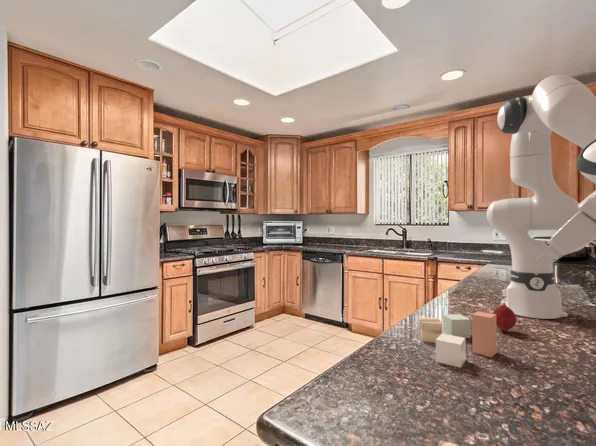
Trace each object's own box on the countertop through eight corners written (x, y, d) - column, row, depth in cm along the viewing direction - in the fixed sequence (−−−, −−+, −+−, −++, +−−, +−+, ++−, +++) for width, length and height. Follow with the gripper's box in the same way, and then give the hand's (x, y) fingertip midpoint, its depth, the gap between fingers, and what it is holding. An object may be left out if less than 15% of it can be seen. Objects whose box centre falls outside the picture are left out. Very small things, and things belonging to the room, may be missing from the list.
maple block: (419, 335, 88) (418, 317, 88) (438, 336, 87) (438, 318, 87) (421, 341, 83) (421, 322, 83) (442, 343, 82) (442, 323, 82)
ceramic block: (442, 354, 75) (441, 333, 75) (465, 360, 72) (465, 337, 72) (436, 362, 71) (435, 339, 71) (460, 368, 68) (460, 344, 68)
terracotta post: (478, 347, 79) (477, 311, 79) (496, 352, 76) (496, 314, 76) (472, 352, 76) (472, 314, 76) (491, 357, 73) (491, 317, 73)
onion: (520, 335, 87) (520, 305, 87) (497, 334, 88) (496, 305, 88) (510, 328, 93) (510, 300, 93) (489, 327, 94) (488, 300, 94)
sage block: (443, 332, 91) (442, 314, 91) (460, 331, 91) (460, 314, 91) (452, 338, 86) (451, 319, 86) (470, 338, 86) (470, 319, 86)
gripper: (595, 206, 70) (541, 248, 77) (585, 199, 56) (519, 252, 63) (625, 226, 67) (565, 269, 74) (621, 225, 53) (548, 278, 60)
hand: (544, 261), depth 68 cm, fingers open, 8 cm apart
